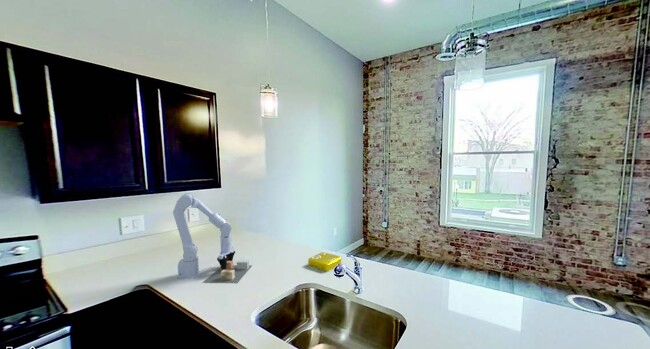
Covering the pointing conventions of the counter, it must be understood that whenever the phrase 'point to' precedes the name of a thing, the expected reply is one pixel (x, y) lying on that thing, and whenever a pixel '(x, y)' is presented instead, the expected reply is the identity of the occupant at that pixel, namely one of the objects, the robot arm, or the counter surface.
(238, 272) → the charcoal mat
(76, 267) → the counter surface
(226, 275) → the maple brick
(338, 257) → the element tile
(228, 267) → the terracotta brick
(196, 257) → the robot arm
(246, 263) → the grey brick
